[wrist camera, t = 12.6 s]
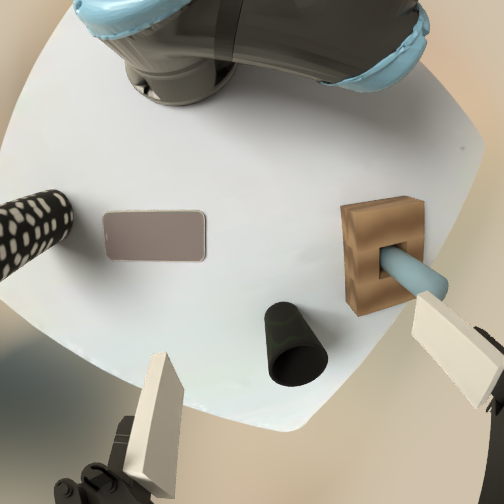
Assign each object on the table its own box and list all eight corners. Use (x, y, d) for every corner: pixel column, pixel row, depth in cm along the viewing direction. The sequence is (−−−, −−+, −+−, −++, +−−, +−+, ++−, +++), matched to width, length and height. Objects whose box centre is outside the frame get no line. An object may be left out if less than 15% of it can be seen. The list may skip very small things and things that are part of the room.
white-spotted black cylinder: (33, 190, 32) (-58, 222, 14) (71, 188, 33) (-24, 220, 15) (37, 240, 35) (-43, 293, 16) (75, 242, 36) (-6, 303, 17)
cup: (299, 289, 42) (324, 335, 31) (308, 327, 45) (331, 375, 33) (251, 304, 42) (261, 354, 31) (264, 341, 45) (276, 393, 33)
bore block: (340, 205, 38) (355, 212, 33) (405, 195, 39) (424, 201, 34) (345, 301, 44) (357, 316, 39) (404, 284, 44) (419, 296, 39)
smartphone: (204, 262, 39) (106, 261, 37) (205, 260, 40) (108, 258, 38) (204, 210, 36) (101, 211, 34) (205, 209, 37) (103, 210, 35)
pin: (370, 243, 39) (426, 281, 26) (392, 238, 39) (450, 273, 26) (371, 267, 40) (422, 311, 27) (391, 261, 40) (445, 302, 27)
